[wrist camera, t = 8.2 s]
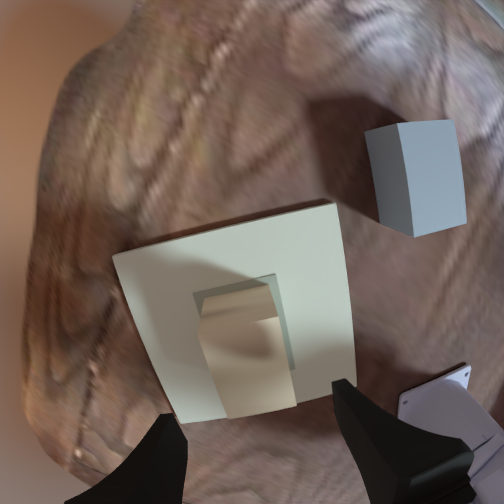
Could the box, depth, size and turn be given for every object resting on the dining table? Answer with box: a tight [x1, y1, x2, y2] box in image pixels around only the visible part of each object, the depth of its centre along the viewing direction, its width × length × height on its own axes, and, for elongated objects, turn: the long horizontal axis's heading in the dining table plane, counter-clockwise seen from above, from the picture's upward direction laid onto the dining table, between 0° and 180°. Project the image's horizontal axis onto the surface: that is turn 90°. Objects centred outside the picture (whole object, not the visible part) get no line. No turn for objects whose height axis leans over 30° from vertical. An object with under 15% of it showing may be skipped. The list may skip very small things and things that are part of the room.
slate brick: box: [364, 120, 467, 237], centre depth 17 cm, size 6×4×4 cm, turn 13°
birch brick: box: [197, 284, 297, 419], centre depth 18 cm, size 6×4×4 cm, turn 12°
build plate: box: [112, 202, 357, 424], centre depth 20 cm, size 14×14×1 cm
